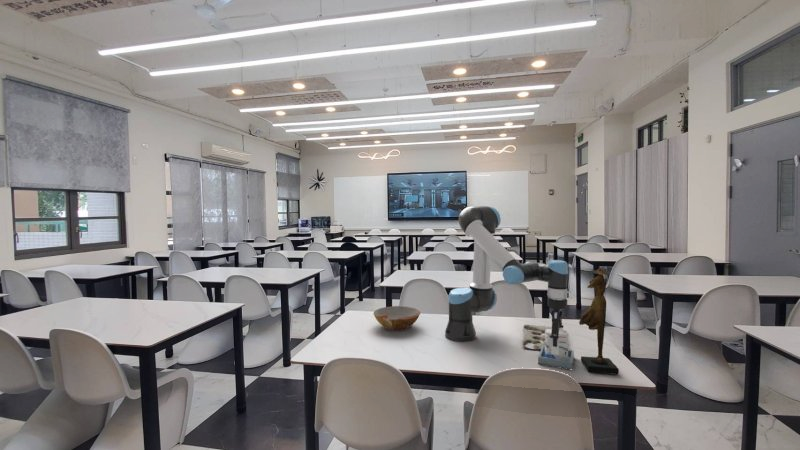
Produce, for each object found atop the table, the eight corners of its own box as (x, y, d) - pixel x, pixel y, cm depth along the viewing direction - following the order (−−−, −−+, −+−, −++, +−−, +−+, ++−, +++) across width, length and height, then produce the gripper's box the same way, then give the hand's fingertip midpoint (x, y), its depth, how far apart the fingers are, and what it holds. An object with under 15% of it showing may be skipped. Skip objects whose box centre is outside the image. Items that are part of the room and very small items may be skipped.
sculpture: (583, 373, 142) (585, 270, 140) (575, 361, 153) (576, 266, 151) (619, 375, 140) (622, 271, 138) (608, 363, 151) (610, 266, 149)
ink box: (545, 360, 153) (546, 332, 152) (544, 355, 158) (544, 328, 157) (568, 362, 151) (568, 334, 150) (565, 357, 155) (566, 330, 155)
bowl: (367, 333, 189) (367, 317, 188) (380, 318, 213) (380, 305, 213) (415, 336, 183) (415, 321, 183) (423, 321, 208) (423, 307, 207)
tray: (538, 363, 151) (538, 356, 151) (542, 352, 163) (542, 345, 163) (571, 370, 145) (572, 362, 145) (573, 357, 157) (573, 350, 157)
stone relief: (522, 350, 167) (570, 354, 160) (521, 344, 167) (570, 348, 160) (523, 328, 197) (564, 331, 191) (523, 323, 197) (564, 326, 191)
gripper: (565, 306, 140) (564, 360, 141) (569, 292, 162) (568, 340, 163) (544, 303, 143) (543, 357, 145) (550, 290, 165) (550, 337, 167)
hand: (556, 348), depth 154 cm, fingers open, 13 cm apart
